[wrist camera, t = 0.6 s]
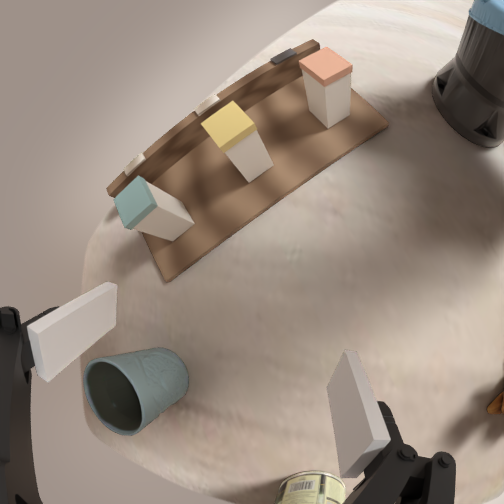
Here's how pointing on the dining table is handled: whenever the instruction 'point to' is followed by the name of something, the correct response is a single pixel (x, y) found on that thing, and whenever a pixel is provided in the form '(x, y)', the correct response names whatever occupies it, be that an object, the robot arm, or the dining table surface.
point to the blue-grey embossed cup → (134, 387)
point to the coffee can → (311, 489)
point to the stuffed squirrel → (497, 405)
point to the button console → (226, 173)
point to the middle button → (239, 140)
